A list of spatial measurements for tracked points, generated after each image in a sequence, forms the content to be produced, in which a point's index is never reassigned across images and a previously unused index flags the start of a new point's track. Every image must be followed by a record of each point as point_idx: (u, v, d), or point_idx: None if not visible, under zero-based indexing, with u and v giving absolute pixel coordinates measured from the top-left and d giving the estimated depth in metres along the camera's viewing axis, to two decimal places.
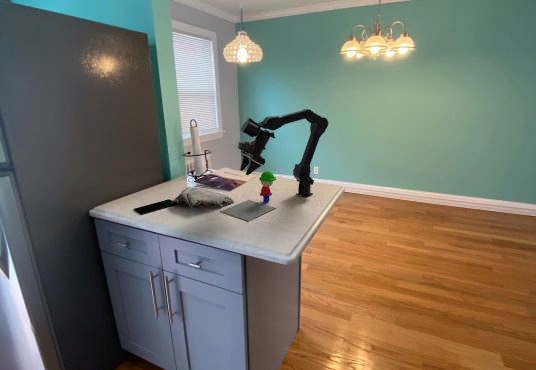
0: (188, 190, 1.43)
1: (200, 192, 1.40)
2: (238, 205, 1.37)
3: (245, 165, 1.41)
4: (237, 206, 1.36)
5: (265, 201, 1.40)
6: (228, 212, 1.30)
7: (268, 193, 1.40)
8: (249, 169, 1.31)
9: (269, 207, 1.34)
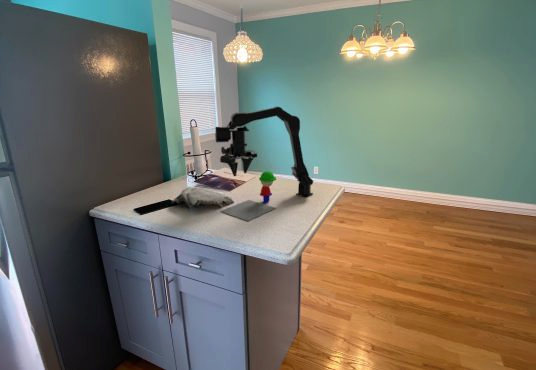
0: (188, 190, 1.43)
1: (200, 192, 1.40)
2: (238, 205, 1.37)
3: (246, 167, 1.41)
4: (237, 206, 1.36)
5: (265, 201, 1.40)
6: (228, 212, 1.30)
7: (268, 193, 1.40)
8: (232, 170, 1.37)
9: (269, 207, 1.34)
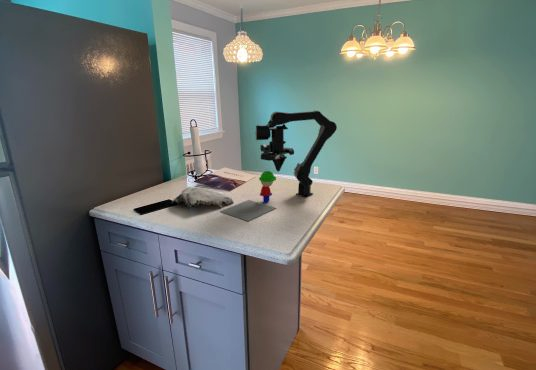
0: (188, 190, 1.43)
1: (200, 192, 1.40)
2: (238, 205, 1.37)
3: None
4: (237, 206, 1.36)
5: (265, 201, 1.40)
6: (228, 212, 1.30)
7: (268, 193, 1.40)
8: (275, 165, 1.45)
9: (269, 207, 1.34)
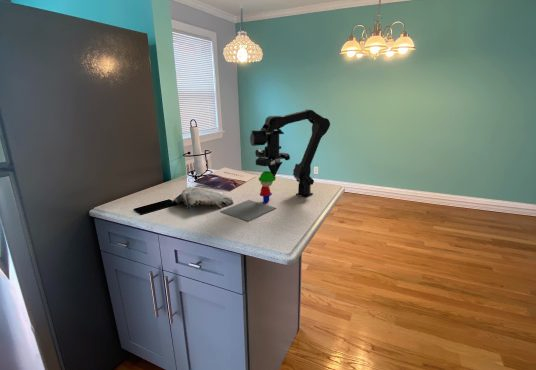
0: (188, 190, 1.43)
1: (200, 192, 1.39)
2: (238, 205, 1.37)
3: None
4: (237, 206, 1.36)
5: (265, 201, 1.40)
6: (228, 212, 1.30)
7: (268, 193, 1.39)
8: (271, 171, 1.41)
9: (269, 207, 1.34)
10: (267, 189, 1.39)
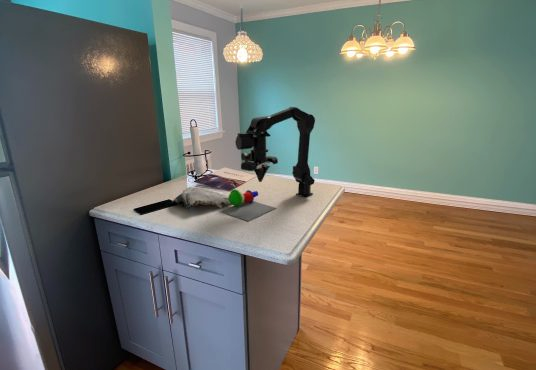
0: (188, 190, 1.43)
1: (200, 192, 1.39)
2: None
3: None
4: None
5: (256, 192, 1.41)
6: (228, 212, 1.30)
7: (248, 192, 1.39)
8: (257, 176, 1.34)
9: (269, 207, 1.34)
10: (245, 194, 1.38)
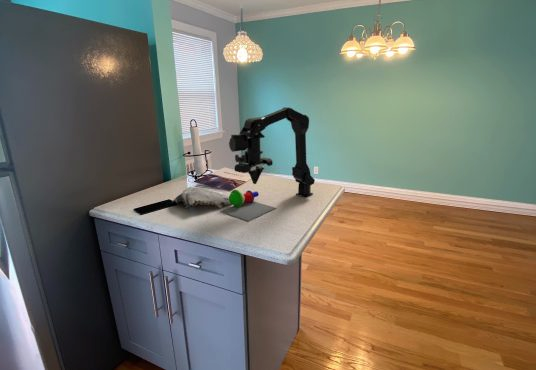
0: (188, 190, 1.43)
1: (199, 192, 1.39)
2: None
3: None
4: None
5: (256, 193, 1.41)
6: (228, 212, 1.30)
7: (249, 192, 1.39)
8: (251, 178, 1.31)
9: (269, 207, 1.34)
10: (245, 194, 1.38)
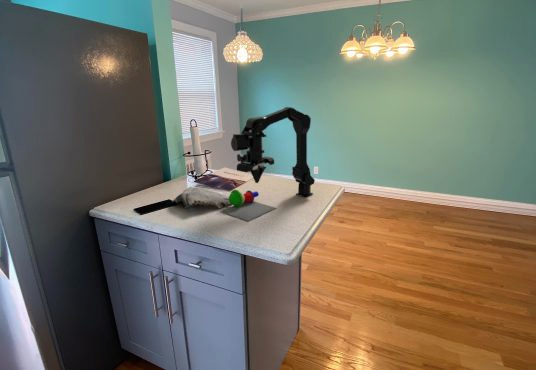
0: (188, 190, 1.43)
1: (199, 192, 1.39)
2: None
3: None
4: None
5: (256, 193, 1.41)
6: (228, 212, 1.30)
7: (249, 192, 1.39)
8: (253, 177, 1.32)
9: (269, 207, 1.34)
10: (245, 194, 1.38)
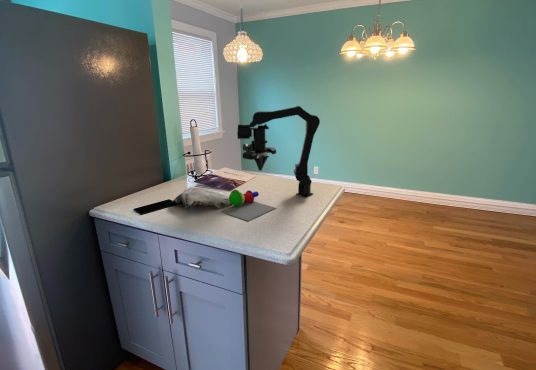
0: (189, 190, 1.43)
1: (199, 193, 1.39)
2: None
3: None
4: None
5: (256, 193, 1.41)
6: (228, 212, 1.30)
7: (249, 192, 1.39)
8: (257, 165, 1.47)
9: (269, 207, 1.34)
10: (245, 194, 1.38)
